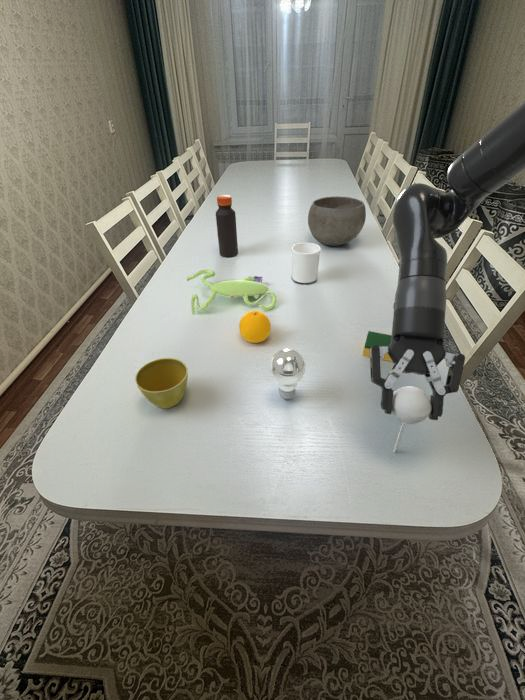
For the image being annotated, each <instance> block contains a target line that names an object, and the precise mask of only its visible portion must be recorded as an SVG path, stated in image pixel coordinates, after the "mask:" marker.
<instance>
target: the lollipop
mask: <svg viewBox="0 0 525 700" xmlns="http://www.w3.org/2000/svg"><path fill="white" fill-rule="evenodd" d="M431 408H432V406H431V403H430V396H429V395H428V394H427V393H426V391H424V390H423V389H422V388H419V387H417V386H414V385H406V386H402V387H400V388H398V389H396V390H394V391H393V401H392V412H391V414H392V415H393V416H394V418H395V419H397V420H398V421H400V422H402V423H401V426H400V428H399V432H398V435H397V438H396V441H395V443H394V447H393V450H392V452H393V453H397V449H398V447H399V444H400V440H401V438H402V435H403V432H404V429H405V426H406V424H407V425H416V424H419V423H421V422H423V421H425V420H426V419H427V418H429V415H430V413H431Z"/></svg>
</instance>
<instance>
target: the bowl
mask: <svg viewBox="0 0 525 700" xmlns="http://www.w3.org/2000/svg"><path fill="white" fill-rule="evenodd" d="M366 217H367V211H366V205H365V203H364V201H363V200H360V199H358V198H354V197H350V196H325V197H320V198H317V199H315V200H314V201H312V202H311V205H310V207H309V210H308V215H307V225H308V229H309V231H310V234H311V235H312V237H313V238H314V240H316V241H317V242H318V243H320V244H322V245H326V246H330V247H331V246H333V247H334V246H335V247H336V246H341V245H345V244H347V243H348V242H350V241H353V240H354V239H355V238H356V237H357V236H358V235H360V233H361V231H362V230H363V228H364V226H365V223H366Z"/></svg>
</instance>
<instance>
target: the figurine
mask: <svg viewBox="0 0 525 700" xmlns="http://www.w3.org/2000/svg"><path fill="white" fill-rule="evenodd" d="M201 275H202V276H201ZM199 276H201V278H200V283H201V284H202V285H204V286H207V287H209V290H210V291H211V292H212V293H211V294H210V296H209V298H208V299H207V300H206V301H205V303H204V305H203V306H201V305H200V301H199V297H198V294H192V296H191V300H190V304H191V305H190V306H191V312H192V314H193V315H195V314H196V310H195V301H196V308H197V310H198V311H199V312H204V311H205V310H207V309H208V307H209V306H210V305H211V303H212V302H213V300H214V299H215V298H216V296H217V294H218V295H221V296H226V297H227V296H228V297H230V298H231V299H233V298H236V297H243V302H244V303H245V304H246V305H247V306H253V305H255V304H257V303H258V302H260V301H261V300H262V299H263V298H264V297H265V296H266V295H270V296H271V298H272V301H271V303H270V304H269V305H268V306H263V305H262V304H258V307H259V308H260V309H261V310H262V311H270V310H272V309H273V308H274V307H275V306H276V305H277V295H276V293H275V292H273V291H269V287H268V285H266V284H264V283H263V276H257V275H254V276H247V277H245V278H242V279H233V280H232V279H231V280H222V281H218V282H215V283H212V282H209V281H207V279H209V278H214V277H215V276H216V272H215V271H214V270H212V269H200V270H199V271H197V272H196V273H193V274H192V275H190V276H187V277H186V281H187V282H189V281H192V280H193V279H196V278H197V277H199ZM262 294H263V295H262ZM260 295H262V296H260ZM252 296H253V298H254V299H256V300H254V301H250V300H249V298H250V297H252ZM259 296H260V297H259Z"/></svg>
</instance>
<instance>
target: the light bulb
mask: <svg viewBox="0 0 525 700" xmlns="http://www.w3.org/2000/svg"><path fill="white" fill-rule="evenodd" d="M306 369H307V366H306V360H305V358H304V356H303V355H302V354H301V353H300V352H298V350H296V349H292V348H282V349H280V350H278V351H277V352H275V353H274V355H273V356H272V358H271V359H270V361H269V372H270V374H271V378H273V380H274V381H275V382H276V383H277V387H278V395H279V397H280V398H281V399H284V400H290V399H293V398H294V397H295V395H296V388H297V386H298V383H299V382H300V381H301V380H302V379H303V378H304V376H305V374H306Z"/></svg>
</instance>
